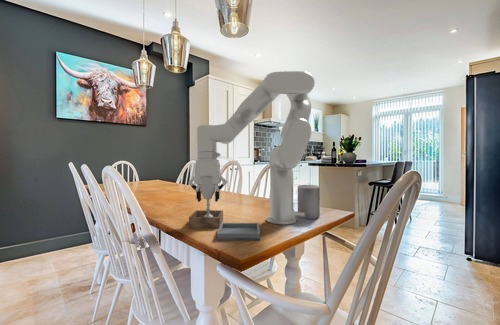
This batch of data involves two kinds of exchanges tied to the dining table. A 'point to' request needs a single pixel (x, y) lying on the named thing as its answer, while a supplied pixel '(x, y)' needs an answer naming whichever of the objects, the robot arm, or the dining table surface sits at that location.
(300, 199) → the pillar candle
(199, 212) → the brown square frame
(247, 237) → the tray
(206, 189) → the chalice
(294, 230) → the dining table surface
